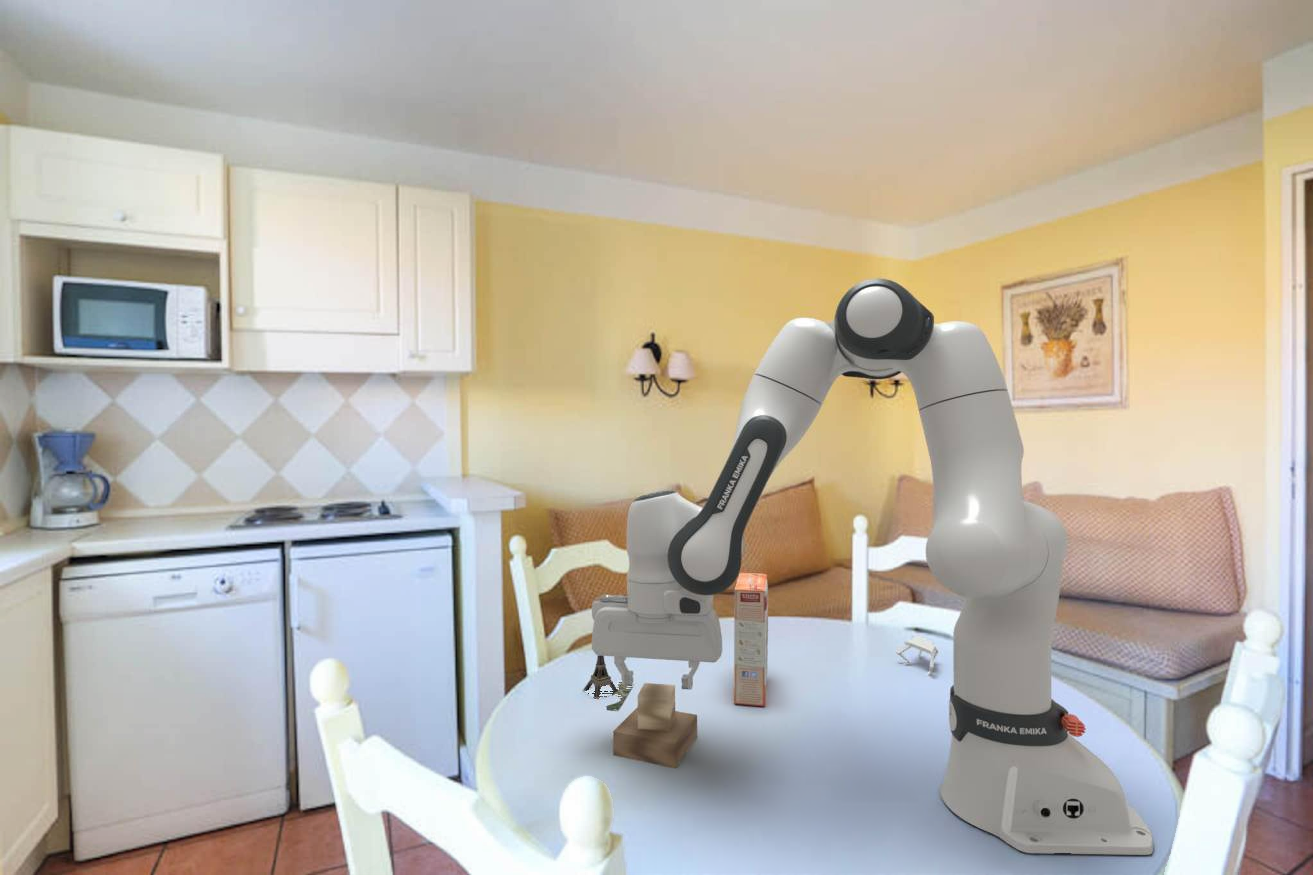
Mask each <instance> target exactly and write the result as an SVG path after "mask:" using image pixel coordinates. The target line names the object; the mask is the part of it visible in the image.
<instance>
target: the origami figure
mask: <svg viewBox="0 0 1313 875" xmlns="http://www.w3.org/2000/svg"><path fill="white" fill-rule="evenodd" d="M903 643H904V645H903V646H902V647H899V649H896V651H895V653H896V654H897V655H898V656H900V657H901V658H902V659H903V660H905V661H906V662H902V663H903V664H904V665H903V666H906V665H909V664H912V662H911V660H909V659H908V657H906V656H905V655H904V654H903V653H904V652H905V651H907V650H909V649H910V648H915V650H919V651H918V658H919V659H922V657H921V655H922V654H923V652H924V653H926V654H929V655H930V662H929V671H928V672H927V673H926V674H925V675H926V676H927V677H928V676H930V675H931V673H932V672H933V671H934V666H935V664H934V662H935V658H936V657H937V656H938V653H939V650H938V649H937V647H936V646H935V642H934V641H931V640H929V639H927V638H924V637H922V636H920V635H915V636H914V637H913V638H911V639H910V640H908V641H907V640H906V641H905V640H904V642H903Z"/></svg>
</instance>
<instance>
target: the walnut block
mask: <svg viewBox="0 0 1313 875" xmlns="http://www.w3.org/2000/svg"><path fill="white" fill-rule="evenodd" d="M612 737H613V738H612V753H613V754H612V756H614V757H615V756H616V757H619V758H625V759H629V760H634V761H639V762H643V763H648V764H653V765H659V766H662V767H667V768H668V767H669V768H672V769H676V768H677V767H678V765H679V764H680V762H681V761H682V759H683V758H685V757H684V756H685V755H686V754H687V753H688V751H689V750H690V749H691V747H692V745H693V744H694V742H695V741H696V739H698V714H694V713H687V712H684V711H679V710H675V719H674V722H673V725H672V728H671V731H660V730H649V729H638V706H637V707H636V708H635V709H633V711H632V712H631V713H630V714H628V716H627V717H626V718H625V719H624V720H623V721H622V722H621V723H620V724H618V725H617V727H616V728H615V729H614V730H613V731H612Z"/></svg>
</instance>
